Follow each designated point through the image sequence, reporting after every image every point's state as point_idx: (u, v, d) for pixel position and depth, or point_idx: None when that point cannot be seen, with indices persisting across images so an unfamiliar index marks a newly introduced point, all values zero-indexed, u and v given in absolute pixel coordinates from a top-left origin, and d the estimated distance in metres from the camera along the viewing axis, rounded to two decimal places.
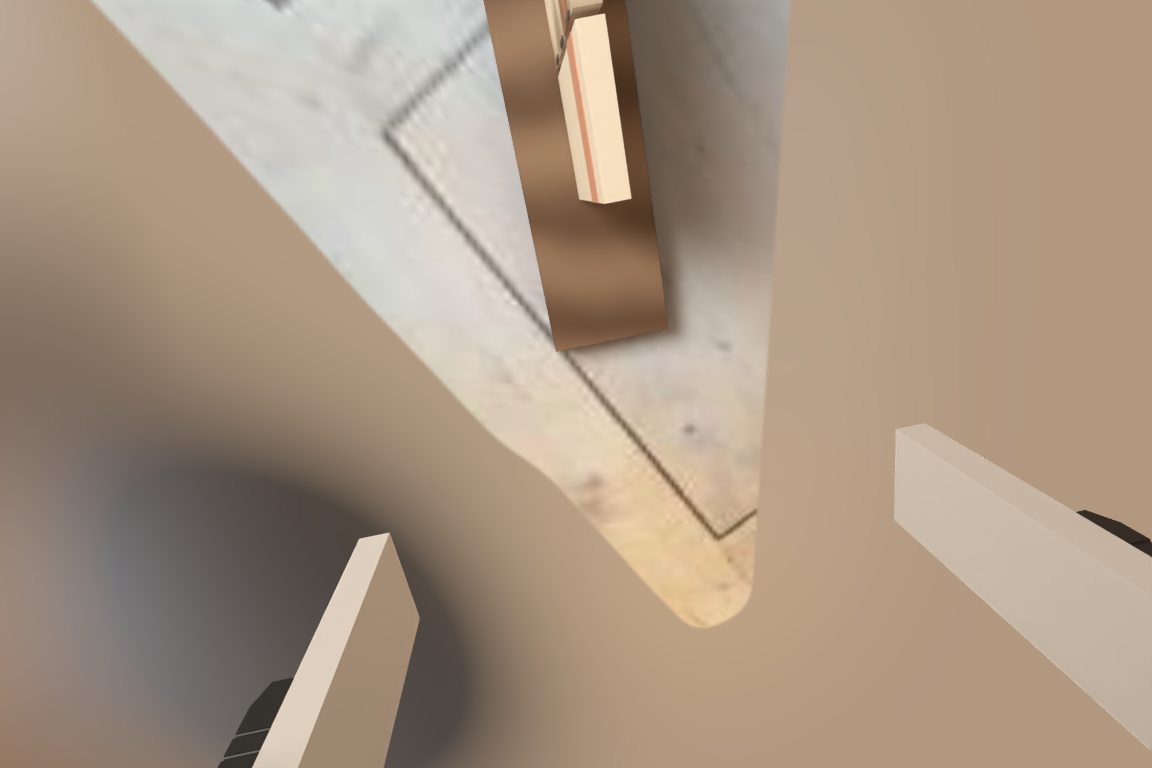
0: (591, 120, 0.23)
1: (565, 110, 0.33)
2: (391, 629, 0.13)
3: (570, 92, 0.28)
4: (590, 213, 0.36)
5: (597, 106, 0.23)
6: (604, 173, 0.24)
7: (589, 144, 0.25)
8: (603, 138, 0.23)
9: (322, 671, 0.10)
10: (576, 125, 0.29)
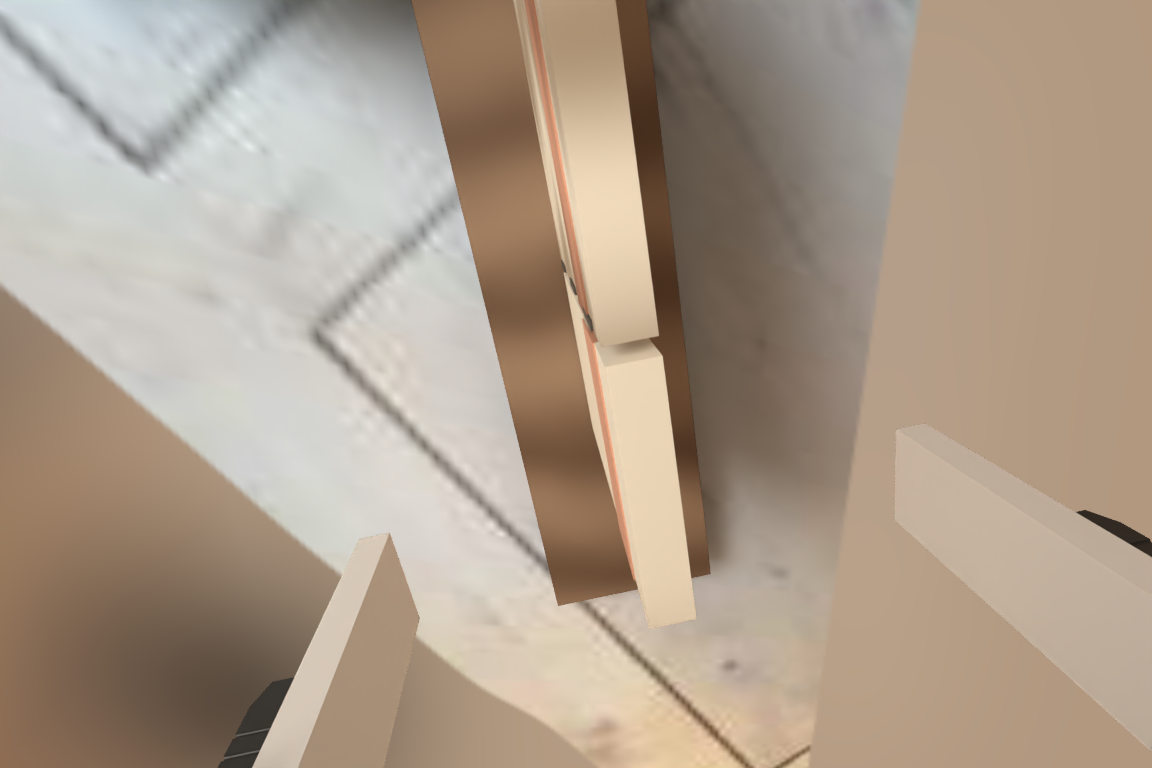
0: (630, 515, 0.13)
1: (574, 326, 0.22)
2: (391, 629, 0.13)
3: (585, 352, 0.18)
4: None
5: (643, 495, 0.12)
6: (650, 588, 0.13)
7: (621, 504, 0.15)
8: (651, 540, 0.13)
9: (322, 671, 0.10)
10: (594, 399, 0.18)
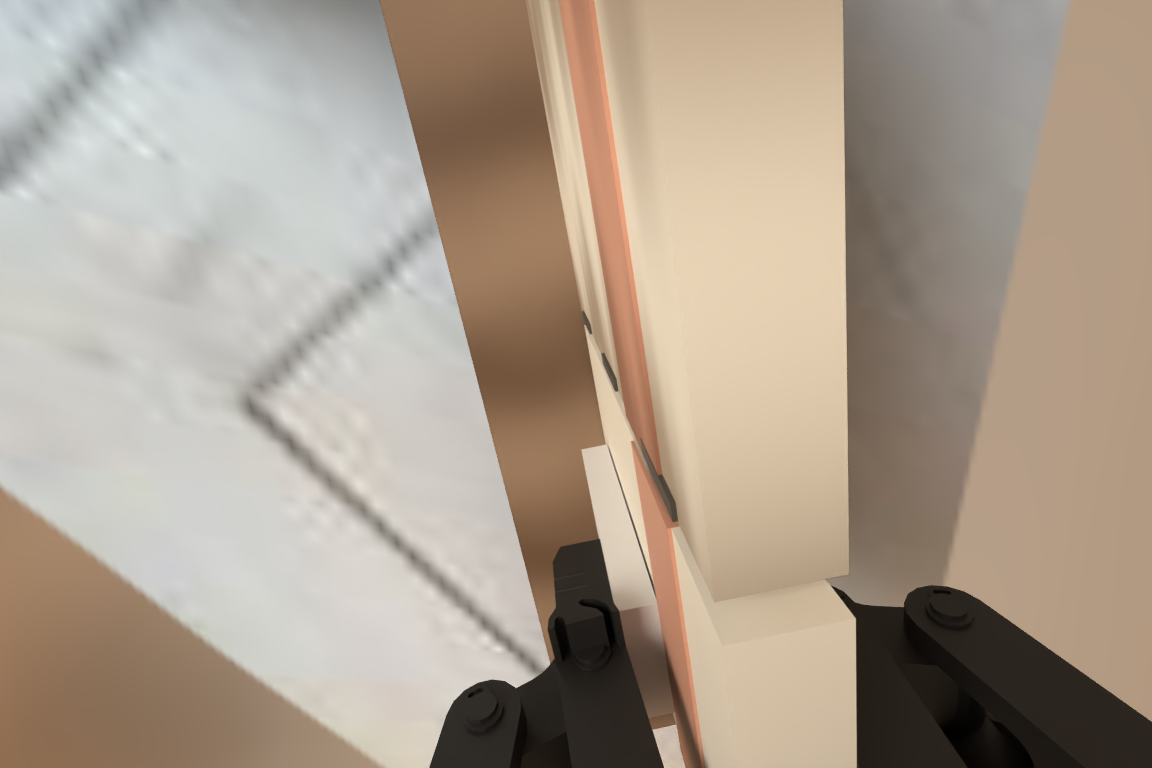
0: None
1: (600, 401, 0.16)
2: None
3: (626, 467, 0.11)
4: None
5: None
6: None
7: None
8: None
9: (621, 528, 0.12)
10: (639, 538, 0.12)
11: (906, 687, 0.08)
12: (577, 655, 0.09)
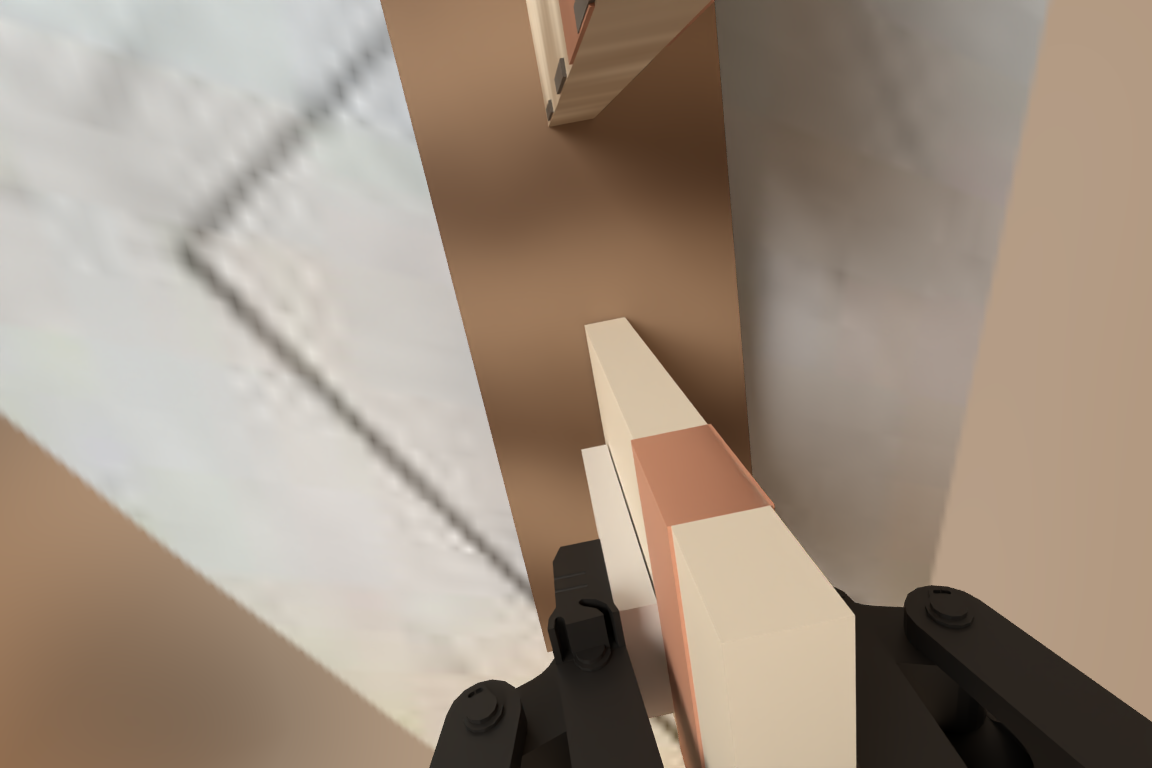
0: None
1: (600, 401, 0.16)
2: None
3: (626, 467, 0.11)
4: None
5: None
6: None
7: None
8: None
9: (621, 528, 0.12)
10: (639, 538, 0.12)
11: (906, 687, 0.08)
12: (577, 655, 0.09)
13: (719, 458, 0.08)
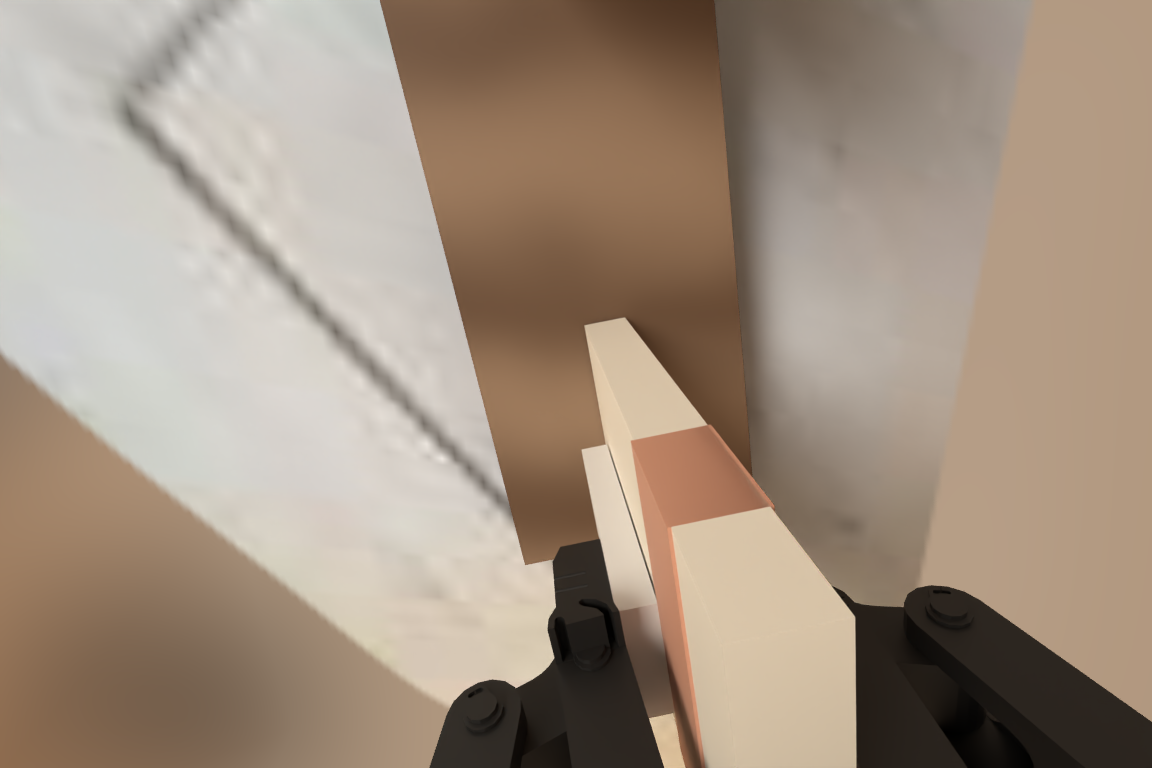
0: None
1: (600, 401, 0.16)
2: None
3: (626, 467, 0.11)
4: (597, 292, 0.16)
5: None
6: None
7: None
8: None
9: (621, 528, 0.12)
10: (639, 538, 0.12)
11: (905, 687, 0.08)
12: (577, 655, 0.09)
13: (719, 459, 0.08)
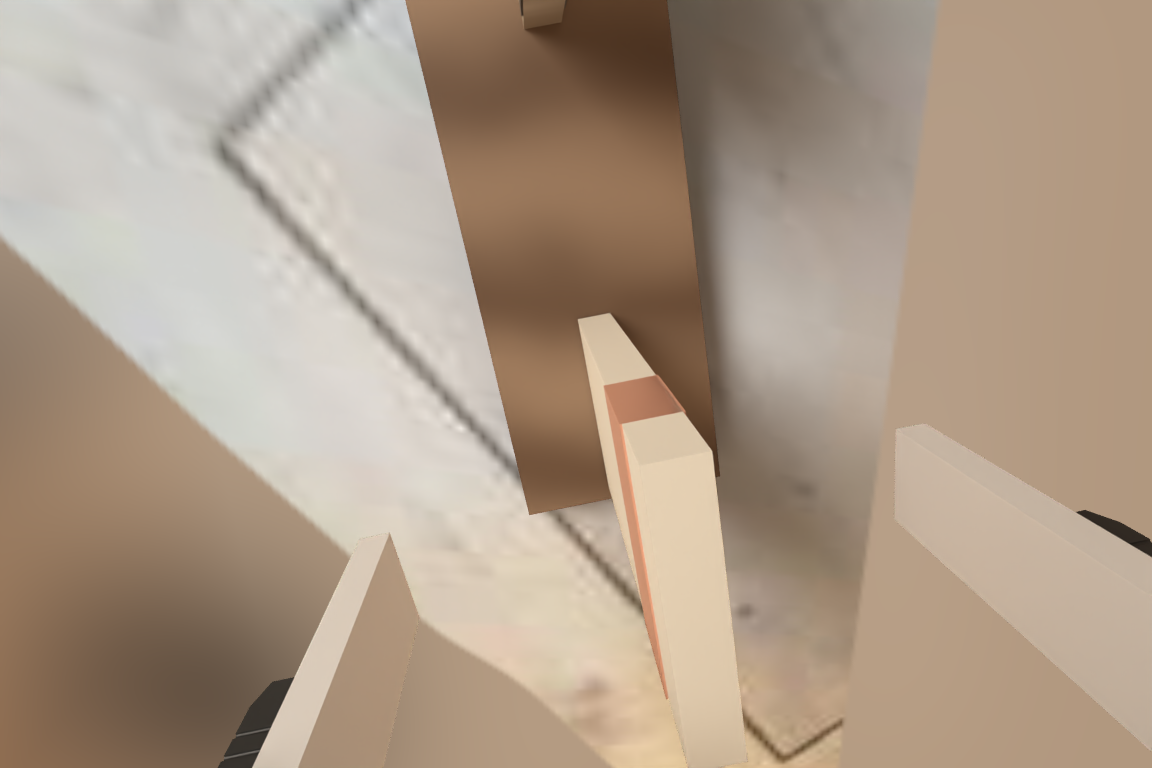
0: (669, 641, 0.10)
1: (590, 378, 0.20)
2: (391, 629, 0.13)
3: (605, 417, 0.15)
4: (587, 288, 0.20)
5: (684, 618, 0.10)
6: (691, 726, 0.11)
7: (653, 612, 0.12)
8: (694, 671, 0.10)
9: (322, 671, 0.10)
10: (615, 471, 0.16)
11: None
12: None
13: (659, 391, 0.12)
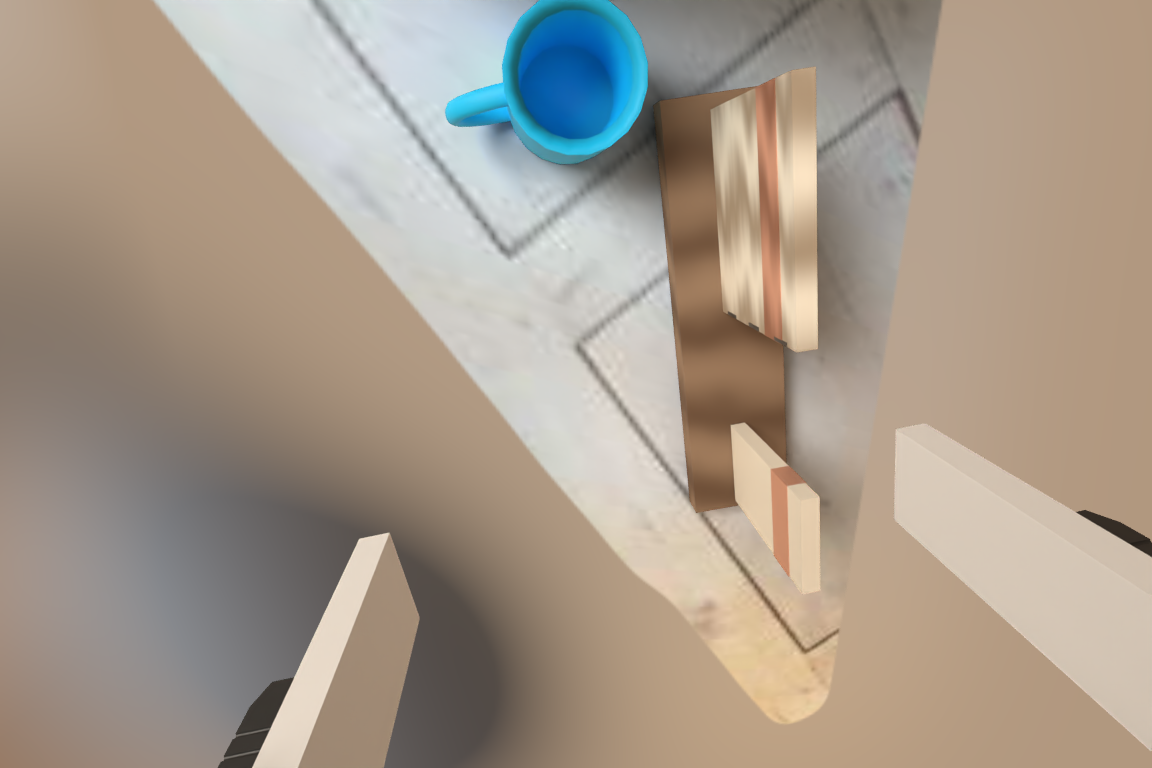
0: (801, 550, 0.35)
1: (737, 452, 0.45)
2: (391, 629, 0.13)
3: (759, 475, 0.40)
4: (736, 412, 0.45)
5: (807, 543, 0.35)
6: (804, 578, 0.36)
7: (788, 545, 0.37)
8: (807, 560, 0.35)
9: (322, 671, 0.10)
10: (761, 496, 0.41)
11: None
12: None
13: (793, 473, 0.37)
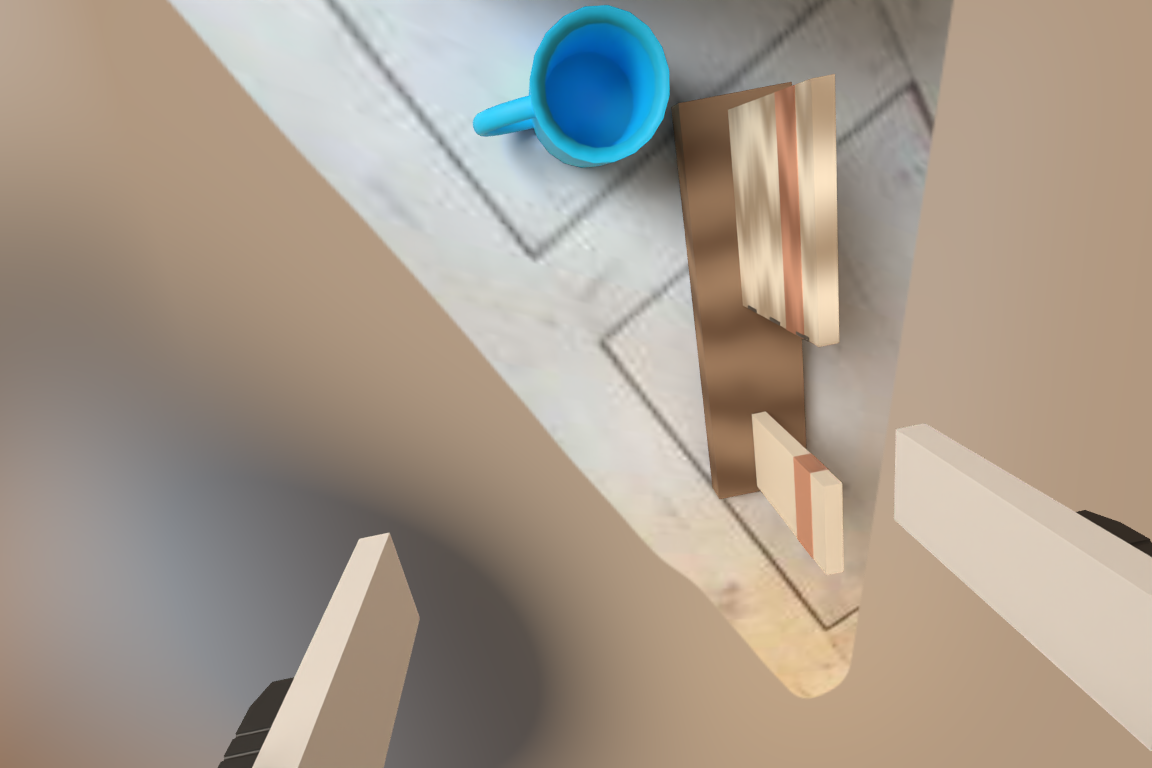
0: (825, 534, 0.37)
1: (758, 441, 0.46)
2: (391, 629, 0.13)
3: (782, 463, 0.42)
4: (756, 401, 0.46)
5: (830, 527, 0.36)
6: (828, 559, 0.37)
7: (812, 529, 0.39)
8: (831, 542, 0.37)
9: (322, 671, 0.10)
10: (784, 482, 0.42)
11: None
12: None
13: (815, 461, 0.38)
